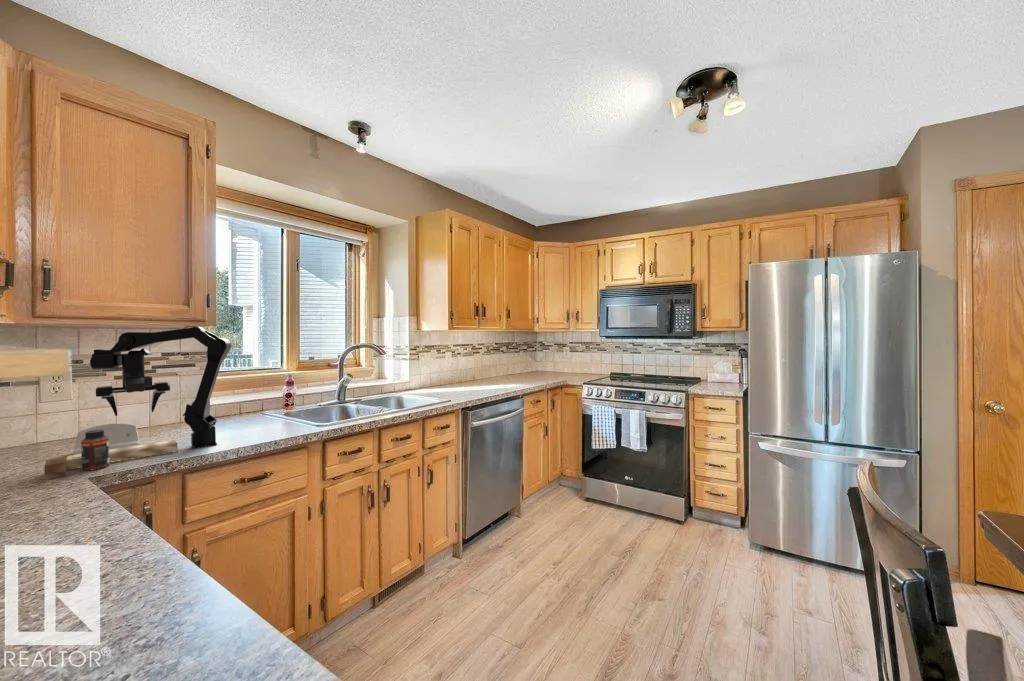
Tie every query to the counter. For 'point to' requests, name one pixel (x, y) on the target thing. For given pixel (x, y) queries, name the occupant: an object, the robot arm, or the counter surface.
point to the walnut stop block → (55, 468)
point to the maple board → (129, 452)
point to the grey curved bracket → (112, 436)
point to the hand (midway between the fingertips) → (134, 413)
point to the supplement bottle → (95, 450)
